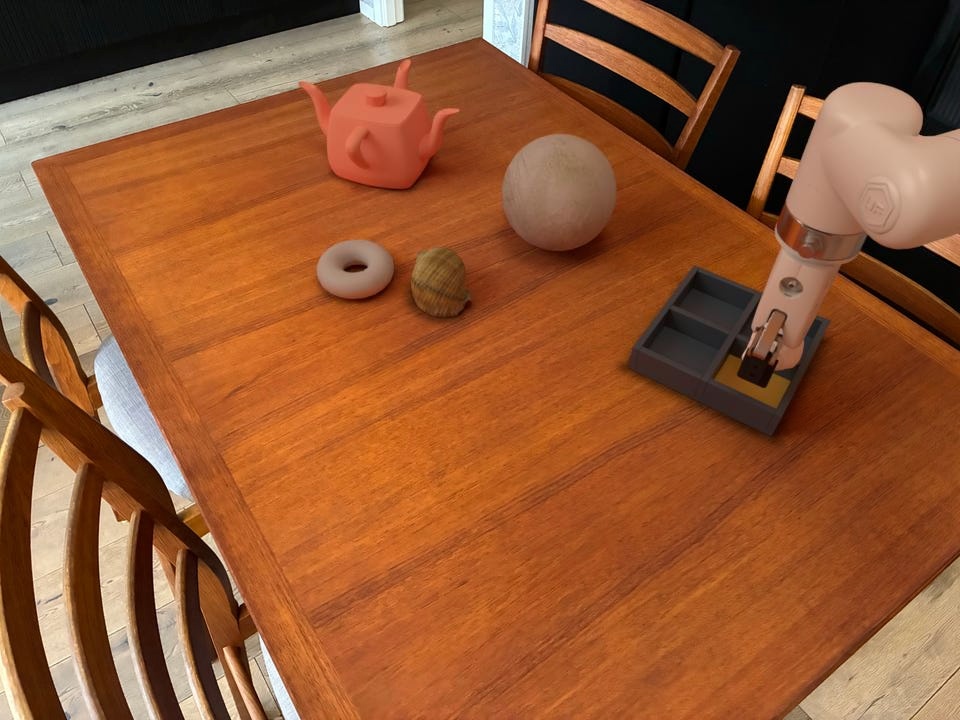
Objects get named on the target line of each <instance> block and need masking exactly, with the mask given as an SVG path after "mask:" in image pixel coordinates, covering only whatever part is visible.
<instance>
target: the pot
mask: <svg viewBox="0 0 960 720" xmlns="http://www.w3.org/2000/svg"><path fill="white" fill-rule="evenodd" d="M411 63H412V61H411V59H404V60H403V61H402V62H401V63H400V64H399V66H398V68H397V72H396V76H395V80H394V83H393V86H391V85H384V84H375V83H363V82H361V83H355V84H353V85H352V86H351V87H350V88H348V89H347V90H346V91H345V93H343V95H342V96H341V97H340V98H339V99H338V101H337V102H336V103H335V105H333V107H332V108H331V106H330V104H329V102H328V100H327V98H326V97H325V94H324V93H323V92H322V90H321V89H320V88H319V87H318V86H316V85H315V84H313V83H311V82H308V81H303V80H300V81H297V84H298V86H299V87H301V88H302V89H303V90H304V92H306V93H307V94H308V95H309V97H310V99H311V100H312V102H313V105H314V110H315V113H316V117H317V122H318V125H319V127H320V129H321V131H322V133H323V134H324V136H325V137H326V152H327V154H326V155H327V161H328V164H329V166H330V168H331V169H332V171H333V172H334V174H335V175H336V176H338V177H340V178H342V179H345V180H348V181H351V182H354V183H356V184H357V183H359V184H361V185H366V186H371V187H377V188H384V189H394V190H404V189H405V190H406V189H409V188H411V187H412V186H413V185H414V184H415V183H416V181H417V180H418V179H419V177H420V176H421V175H422V173H423V171H424V170H425V168H426V167H427V165H428V163H429V161H430V159H431V158H433V156H434V155H436V153H438V151H439V149H440V148H441V145H442V143H443V137H444V131H445V125H446V123H447V120H448V119H449V118H450V117H452V116H453V115H457V114H458V113H459V112H460V109H459V108H452V107H450V108H449V107H447V108H443V109H440V110H439V111H438V112H437V113H436V114H435V115H434V117H433V120H432V119H431V116H430V113H429V110H428V106H427V103H426V101H425V99H424V96H423V95H422V94H420V93H418V92H415V91H412V90H410V89H409V88H410V87H409V73H410V68H411Z"/></svg>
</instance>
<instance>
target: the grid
mask: <svg viewBox="0 0 960 720" xmlns="http://www.w3.org/2000/svg"><path fill="white" fill-rule="evenodd" d="M762 294H763V291H762V292H761V291H759V290H756V289H754V288H752V287H749V286H747V285H744V284H742V283H739V282H737V281H734V280H731V279H729V278H727V277H725V276H722V275H719V274H717V273H714V272H713V271H710V270H707V269H706V268H702V267H700V266H697V265H695V264H693V266H692V267H691V268H690V269H689V271H688V273H687V274H686V275H685V276H684V278H683V279H682V280H681V282H680V283H679V284H678V286H677V287H676V289H675V290H674V291H673V293H672V294H671V295H670V296H669V298H667V301H666V302H665V303H664V305H662V307H661V309H660V310H659V311H658V313H657V314H656V315H655V317H654V318H653V319H652V321H651V322H650V323H649V325H648V326H647V328H646V329H645V330H644V332H643V333H642V334H641V335H640V337H639V338H638V340H637V341H636V342H635V344H634V345H633V346H632V349H631V353H630V357H629V360H628V365H627V368H628V369H629V370H632V371H633V372H636V373H638V374H640V375H641V376H644V377H646V378H648V379H650V380H652V381H654V382H656V383H658V384H660V385H663V386H665V387H667V388H669V389H671V390H673V391H675V392H677V393H679V394H682V395H684V396H685V397H688V398H690V399H691V400H693V401H696V402H698V403H700V404H703V405H704V406H706V407H708V408H711V409H712V410H714V411H717V412H719V413H721V414H723V415H725V416H727V417H729V418H731V419H733V420H736V421H738V422H740V423H742V424H744V425H745V426H747V427H750V428H752V429H754V430H756V431H759V432H760V433H762V434H765V435H767V436H769V437H773V435H774V433H775V431H776V429H777V427H778V425H779V424H780V422H781V420H782V418H783V416H784V414H785V411H786V410H787V409H788V406H789V404H790V402H791V401H792V398H793V396H794V395H795V393H796V390H797V388H798V387H799V385H800V383H801V381H802V379H803V377H804V375H805V374H806V371H807V369H808V367H809V366H810V363H811V361H812V359H813V358H814V355H815V353H816V352H817V349H818V348H819V346H820V343H821V342H822V340H823V339H824V335H825V334H826V332H827V330H828V328H829V326H830V324H831V323H832V320H830V319H828V318H826V317H823V316H821V315H819V314H817V315H816V317H815V319H814V321H813V323H812V325H811V327H810V329H809V330H808V332H807V334H806V336H805V338H804V347H803V352H802V355H801V358H800V360H799V362H798V363H797V364H796V365H795V366H794V367H793V368H789V369H784V370H777V371H774V372H773V374H772V377H771V379H770V381H769V383H768V385H767V387H766V388H762V387H759V386H757V385H755V384H753V383H750V382H748V381H746V380H744V379H742V378H739V377H738V376H737V372H738V370H739V368H740V365H741V363H742V355H743V353H744V352H745V350H746V348H747V345H748V344H749V342H750V340H751V336H752V334H753V331H752V328H751V325H752V322H753V319H754V316H755V313H756V310H757V307H758V305H759V302H760V299H761V297H762Z"/></svg>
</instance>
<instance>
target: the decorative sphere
mask: <svg viewBox="0 0 960 720" xmlns="http://www.w3.org/2000/svg"><path fill="white" fill-rule="evenodd" d="M617 193H618V191H617V180H616V176H615V172H614V169H613V167H612V166H611V163H610V161H609V159H608V158H607V157H606V155H605V154H604V153H603V152H602V151H601V149H600V148H599V147H597V146H596V145H595V144H594V143H592V142H591V141H589V140H587V139H585V138H583V137H580V136H578V135H575V134H569V133H551V134H548V135H547V134H546V135H544V136H541V137H538V138H536V139H534V140H532V141H530V142H528V143H527V144H526V145H525V146H523V147H522V148H520V150H519V151H518V152H517V153H516V154H515V155H514V157H513V158H512V159H511V161H510V162H509V164H508V166H507V168H506V171H505V174H504V177H503V180H502V184H501V202H502V208H503V211H504V214H505V217H506V220H507V221H508V223H509V225H510V227H511V228H512V229H513V231H514V232H515V233H516V234H517V236H519V237H520V238H521V239H522V240H524V241H525V242H527V243H528V244H530V245H532V246H534V247H536V248H538V249H542V250H544V251H545V250H546V251H550V252H564V251H565V252H566V251H570V250H573V249H576V248H577V249H578V248H580V247H582V246H585V245H586V244H588V243H589V242H590V241H593V239H595V238H596V237H598V236H599V234H600V233H602V232H603V230H604V229H605V227H606V226H607V225H608V223H609V221H610V219H611V217H612V215H613V212H614V210H615V207H616V203H617Z"/></svg>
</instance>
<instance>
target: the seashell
mask: <svg viewBox="0 0 960 720" xmlns="http://www.w3.org/2000/svg"><path fill="white" fill-rule="evenodd" d="M465 265H466V264H465V263H464V260H462V258H461V256H460V255H458V253H457V252H456V251H454V250H452V249H450V248H448V247H445V246H435V247H433V248H430V249H427V250H423V251H418V252H417V255H416V261H415V262H414V268H413V270H412V273H411V276H410V289H411V292H412V293H411V294H412V298H413V301H414V303H415V305H416V306H417V307H418V309H420V310H421V311H422V312H423V313H425V314H428V315H430V316H433V317H435V318H442V319H443V318H444V319H445V318H453V317H457V316H458V315H459V314H460V312H461V311H462V310H463V309H464V308H465V305H466V304H467V302H468V303H473V299H472V293H471V291H470V290H469V289H467V286H466V278H467V270H466V266H465Z"/></svg>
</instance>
